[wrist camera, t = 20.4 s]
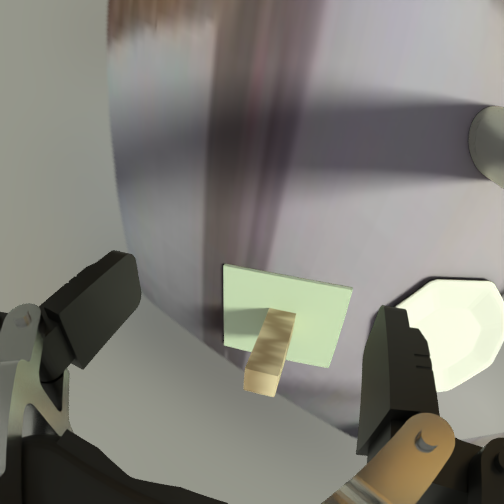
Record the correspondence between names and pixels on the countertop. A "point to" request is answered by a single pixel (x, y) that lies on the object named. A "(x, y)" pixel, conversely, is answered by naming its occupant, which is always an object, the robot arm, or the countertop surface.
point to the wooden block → (269, 353)
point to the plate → (457, 326)
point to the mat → (286, 299)
